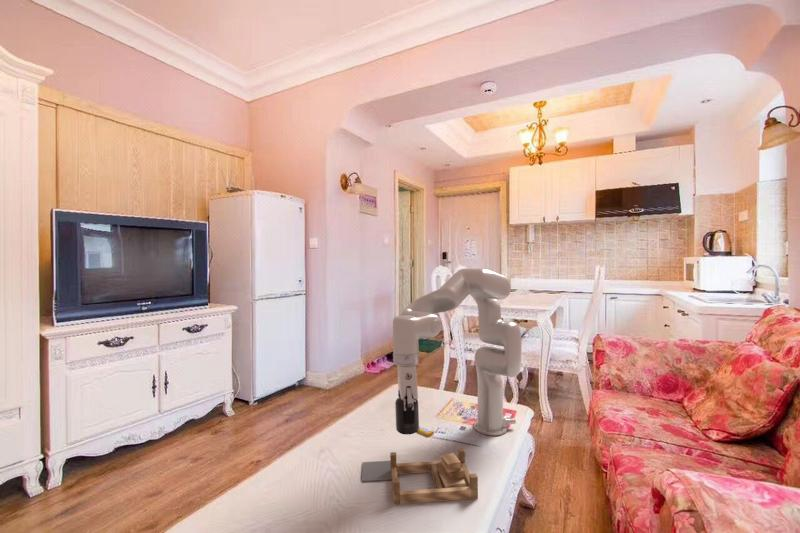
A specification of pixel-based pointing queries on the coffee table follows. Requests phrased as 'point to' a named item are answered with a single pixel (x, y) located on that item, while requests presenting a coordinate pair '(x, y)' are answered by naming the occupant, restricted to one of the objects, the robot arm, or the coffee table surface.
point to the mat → (376, 471)
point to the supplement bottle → (399, 417)
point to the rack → (439, 492)
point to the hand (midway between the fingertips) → (407, 417)
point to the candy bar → (425, 432)
